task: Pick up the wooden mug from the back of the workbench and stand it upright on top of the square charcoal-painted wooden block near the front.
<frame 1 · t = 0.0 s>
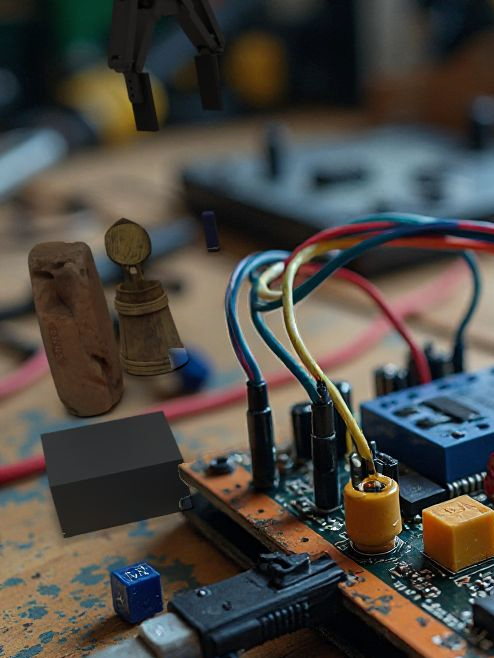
hand: (182, 120, 133), 31 cm above the table, tool pointing down, fingers open, 13 cm apart
riser block: (121, 495, 116), on the table
block: (95, 403, 137), on the table
eraser: (214, 251, 193), on the table
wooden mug: (154, 358, 150), on the table
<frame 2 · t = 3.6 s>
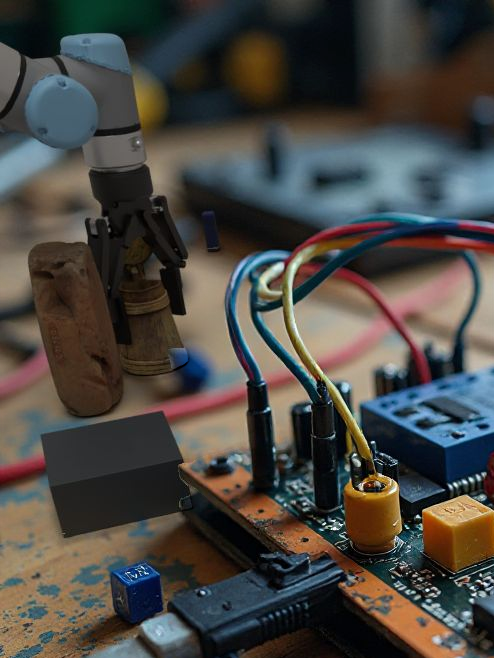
hand: (150, 328, 148), 4 cm above the table, tool pointing down, fingers open, 11 cm apart
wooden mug: (154, 358, 150), on the table, touching gripper
everything else where it was.
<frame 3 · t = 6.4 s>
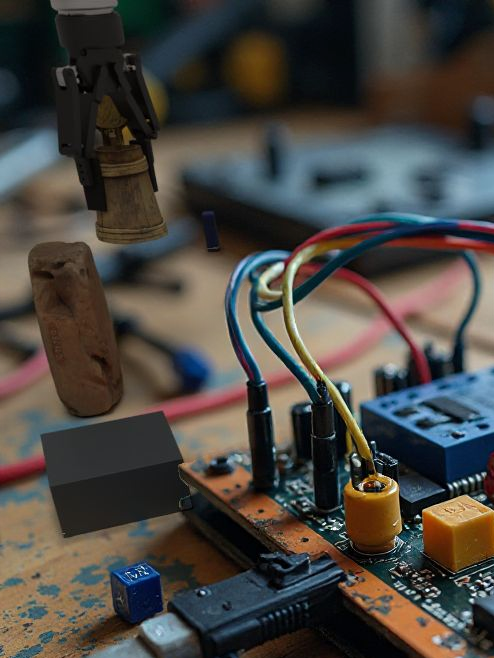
hand: (124, 200, 139), 22 cm above the table, tool pointing down
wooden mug: (131, 233, 142), point 17 cm above the table, touching gripper, hand
everything else where it was.
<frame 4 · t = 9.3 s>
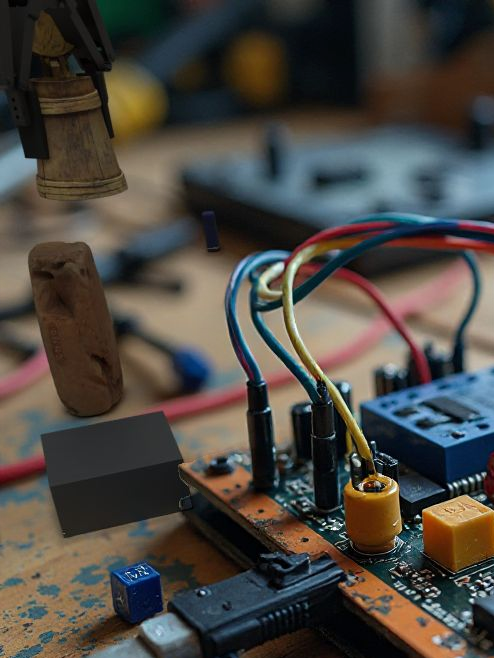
hand: (71, 147, 112), 33 cm above the table, tool pointing down
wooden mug: (82, 189, 114), point 29 cm above the table, touching gripper, hand
everything else where it was.
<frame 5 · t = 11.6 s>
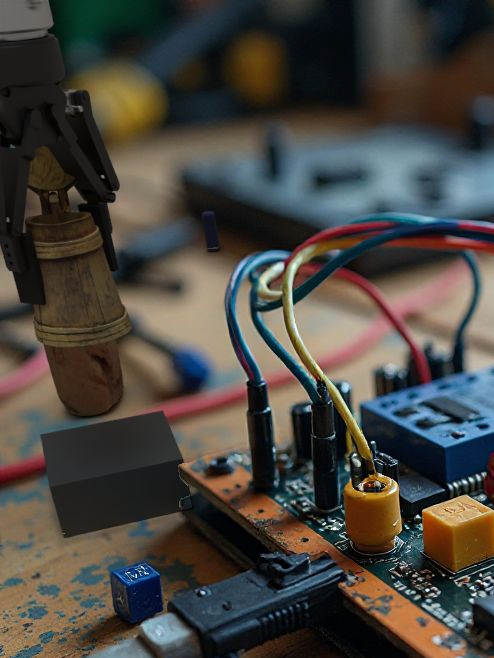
hand: (71, 285, 104), 23 cm above the table, tool pointing down
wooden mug: (84, 326, 106), point 19 cm above the table, touching gripper, hand
everything else where it was.
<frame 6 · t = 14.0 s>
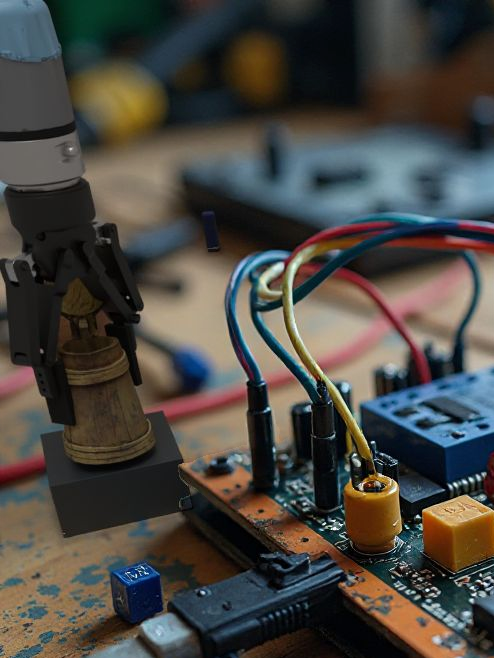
hand: (98, 402, 110), 11 cm above the table, tool pointing down
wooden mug: (109, 439, 113), point 7 cm above the table, touching gripper, hand
everything else where it was.
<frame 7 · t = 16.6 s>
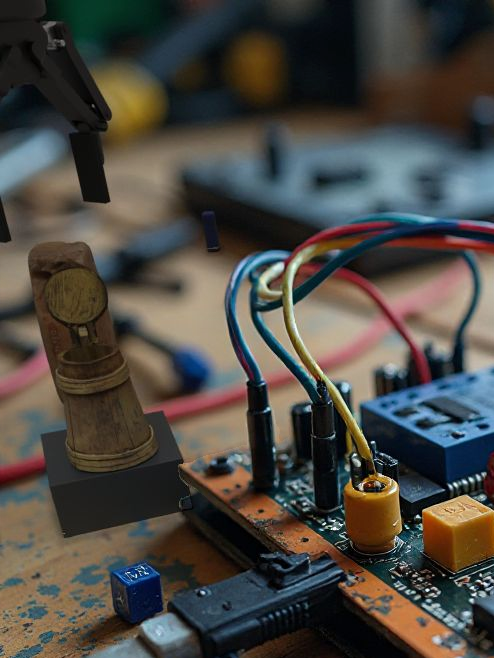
hand: (49, 220, 101), 30 cm above the table, tool pointing down, fingers open, 13 cm apart
riser block: (121, 495, 116), on the table, touching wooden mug
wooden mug: (112, 445, 113), point 6 cm above the table, touching riser block
everything else where it was.
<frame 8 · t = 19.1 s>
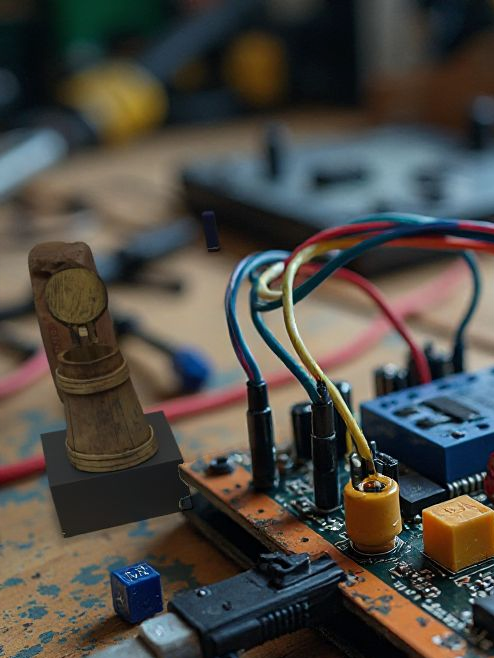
nothing on the table moved.
at the end: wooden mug inside the target area on the riser block (0.5 cm from its centre), point 5.8 cm above the riser block's base; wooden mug tilted 0°; the gripper is holding nothing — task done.
